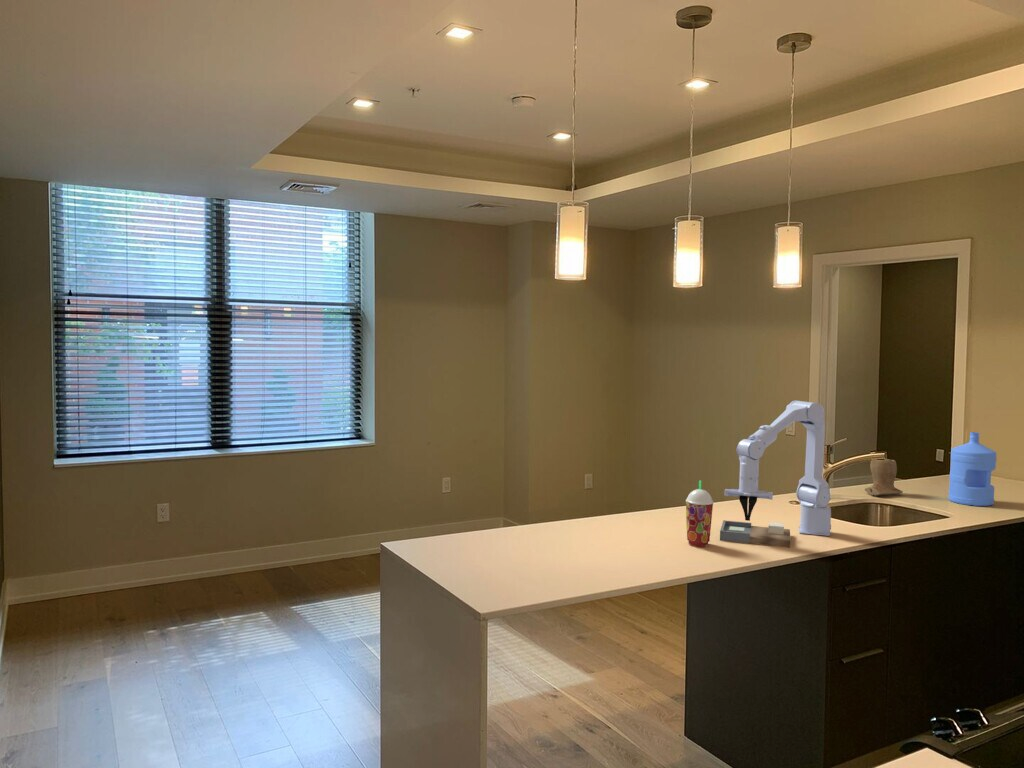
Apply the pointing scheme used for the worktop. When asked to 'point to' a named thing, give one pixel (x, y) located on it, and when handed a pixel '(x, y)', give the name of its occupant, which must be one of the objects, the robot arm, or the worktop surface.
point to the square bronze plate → (769, 537)
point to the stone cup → (883, 478)
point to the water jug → (972, 473)
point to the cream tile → (776, 528)
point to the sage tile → (736, 529)
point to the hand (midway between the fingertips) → (747, 519)
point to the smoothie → (699, 517)
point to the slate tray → (735, 536)
